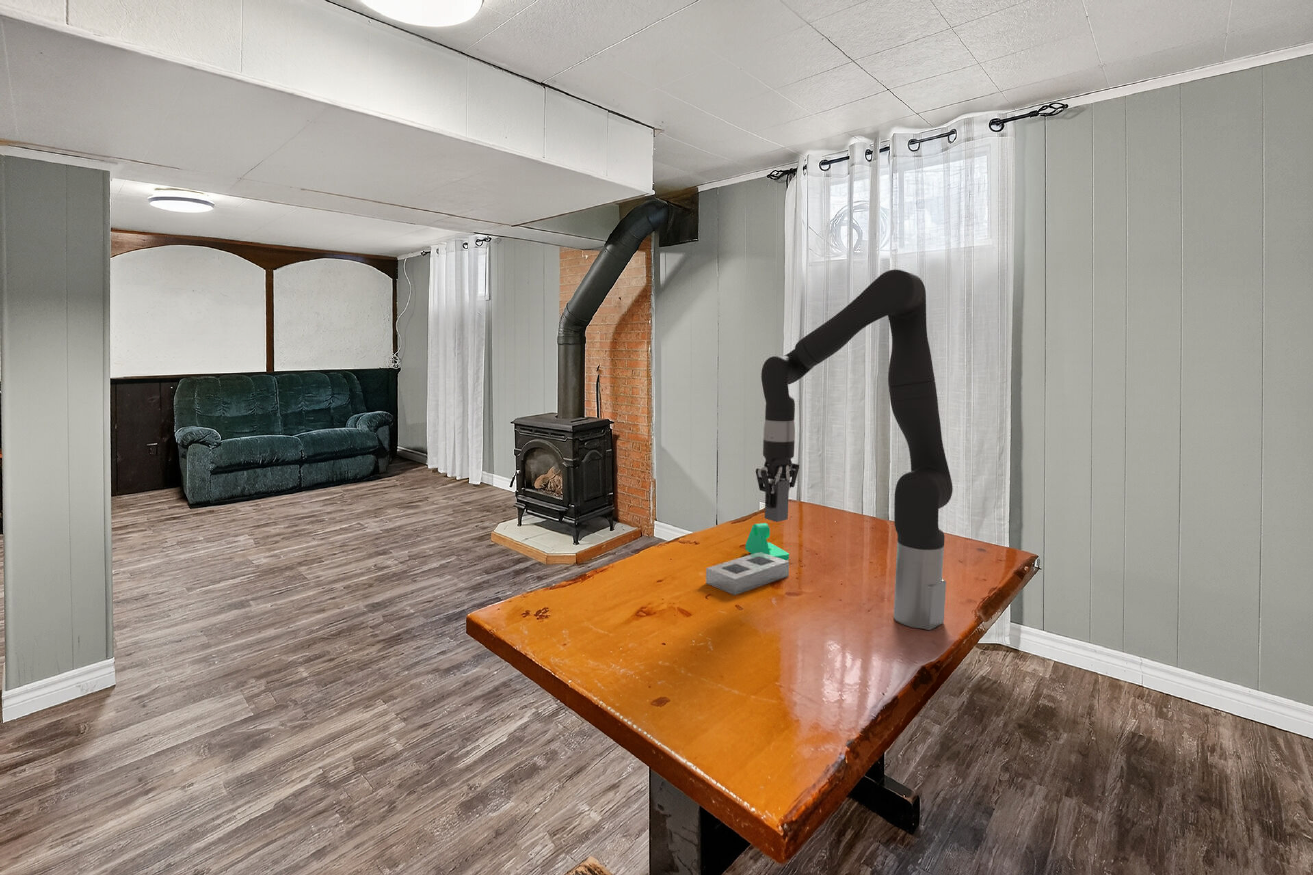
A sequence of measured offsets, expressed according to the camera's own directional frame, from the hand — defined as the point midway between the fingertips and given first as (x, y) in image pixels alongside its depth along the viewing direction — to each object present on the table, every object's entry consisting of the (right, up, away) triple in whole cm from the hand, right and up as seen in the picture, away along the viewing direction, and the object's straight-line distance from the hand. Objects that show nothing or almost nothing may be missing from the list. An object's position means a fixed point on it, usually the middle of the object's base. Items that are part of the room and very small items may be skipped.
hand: (776, 506), depth 156 cm
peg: (0, -3, 0) cm, 3 cm away
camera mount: (+2, -17, +22) cm, 28 cm away
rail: (-6, -19, +5) cm, 21 cm away
